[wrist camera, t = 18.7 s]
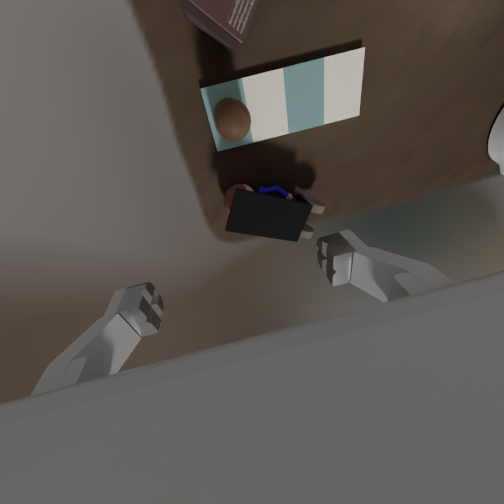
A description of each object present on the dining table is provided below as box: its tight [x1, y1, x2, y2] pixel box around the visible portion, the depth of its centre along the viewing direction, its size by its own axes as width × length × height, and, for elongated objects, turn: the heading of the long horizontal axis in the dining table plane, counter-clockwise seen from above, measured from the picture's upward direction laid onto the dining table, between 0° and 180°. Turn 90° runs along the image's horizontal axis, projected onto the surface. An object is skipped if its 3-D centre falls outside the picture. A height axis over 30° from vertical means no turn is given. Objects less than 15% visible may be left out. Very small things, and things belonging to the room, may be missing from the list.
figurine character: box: [224, 184, 326, 242], centre depth 34 cm, size 7×8×15 cm
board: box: [200, 47, 365, 151], centre depth 28 cm, size 20×7×1 cm, turn 101°
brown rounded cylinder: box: [213, 98, 251, 142], centre depth 25 cm, size 4×4×8 cm
